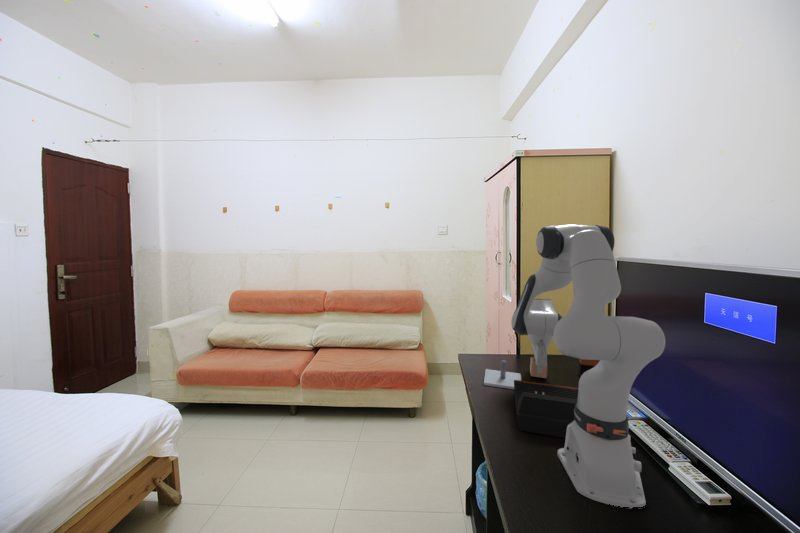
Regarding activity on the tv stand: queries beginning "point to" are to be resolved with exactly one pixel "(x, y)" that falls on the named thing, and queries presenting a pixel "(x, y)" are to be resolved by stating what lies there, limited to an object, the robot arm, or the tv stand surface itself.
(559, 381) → the tv stand surface
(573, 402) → the video game console
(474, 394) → the tv stand surface
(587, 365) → the battery
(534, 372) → the open-ended wooden box
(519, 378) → the keeper dock
